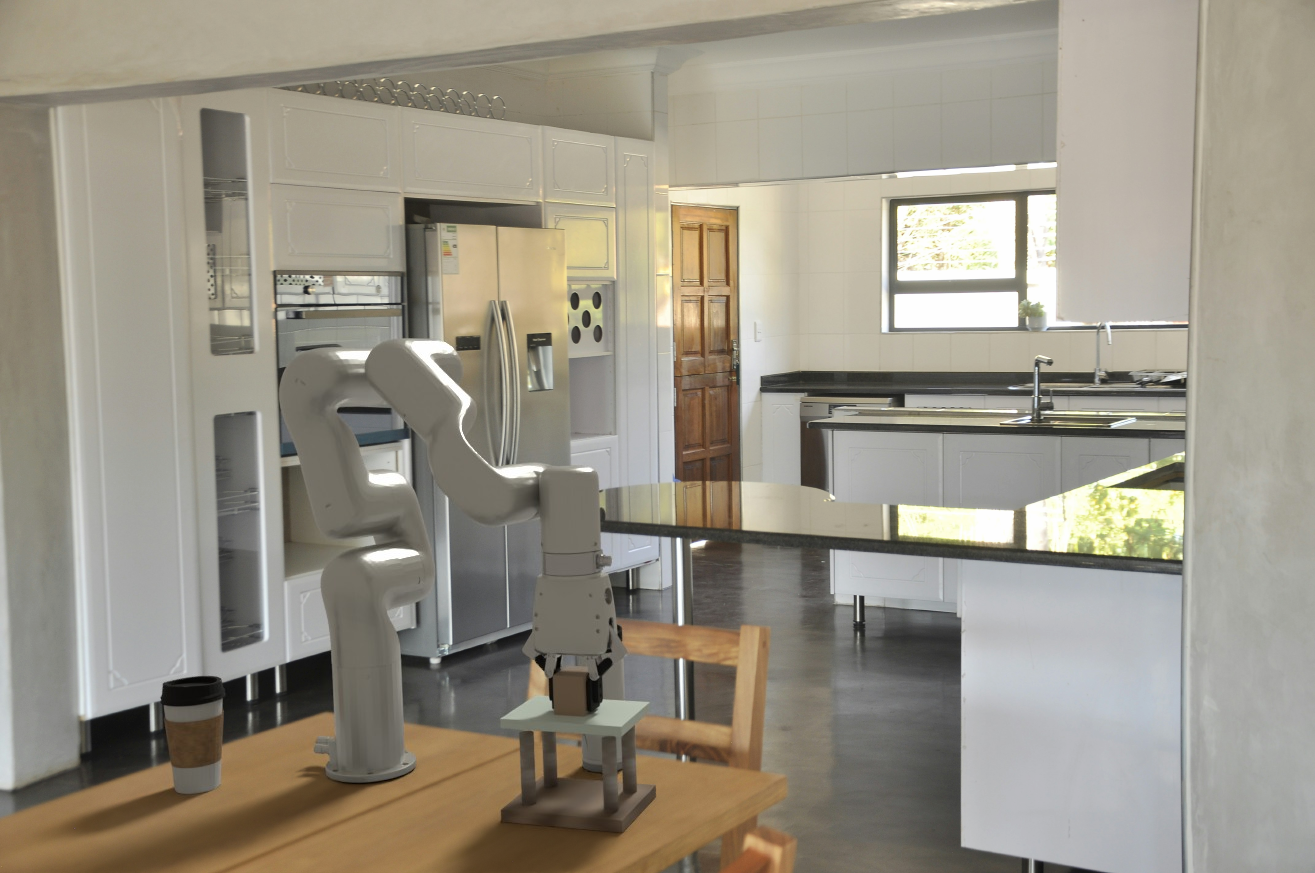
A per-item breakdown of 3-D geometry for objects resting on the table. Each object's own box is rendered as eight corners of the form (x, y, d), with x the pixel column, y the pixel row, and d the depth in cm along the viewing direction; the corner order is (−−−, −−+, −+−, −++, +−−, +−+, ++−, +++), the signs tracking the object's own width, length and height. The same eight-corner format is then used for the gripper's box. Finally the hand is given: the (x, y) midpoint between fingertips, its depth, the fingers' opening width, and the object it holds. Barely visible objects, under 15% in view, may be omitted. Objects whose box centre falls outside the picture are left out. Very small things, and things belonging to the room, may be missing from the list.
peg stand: (501, 821, 155) (497, 738, 154) (542, 787, 167) (539, 709, 167) (622, 832, 150) (619, 746, 149) (656, 796, 162) (653, 716, 162)
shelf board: (500, 727, 155) (498, 678, 155) (535, 704, 166) (534, 657, 165) (621, 736, 150) (619, 685, 150) (650, 711, 161) (648, 663, 160)
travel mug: (629, 757, 178) (625, 619, 177) (624, 773, 172) (619, 629, 171) (586, 757, 179) (581, 620, 178) (579, 772, 173) (574, 629, 171)
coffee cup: (151, 793, 169) (145, 684, 169) (195, 774, 177) (190, 670, 176) (199, 799, 166) (194, 688, 165) (243, 779, 174) (237, 673, 173)
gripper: (644, 560, 158) (648, 703, 159) (522, 558, 163) (527, 696, 164) (624, 570, 151) (628, 719, 152) (498, 567, 156) (503, 711, 157)
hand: (576, 706), depth 158 cm, fingers closed on shelf board, 4 cm apart
